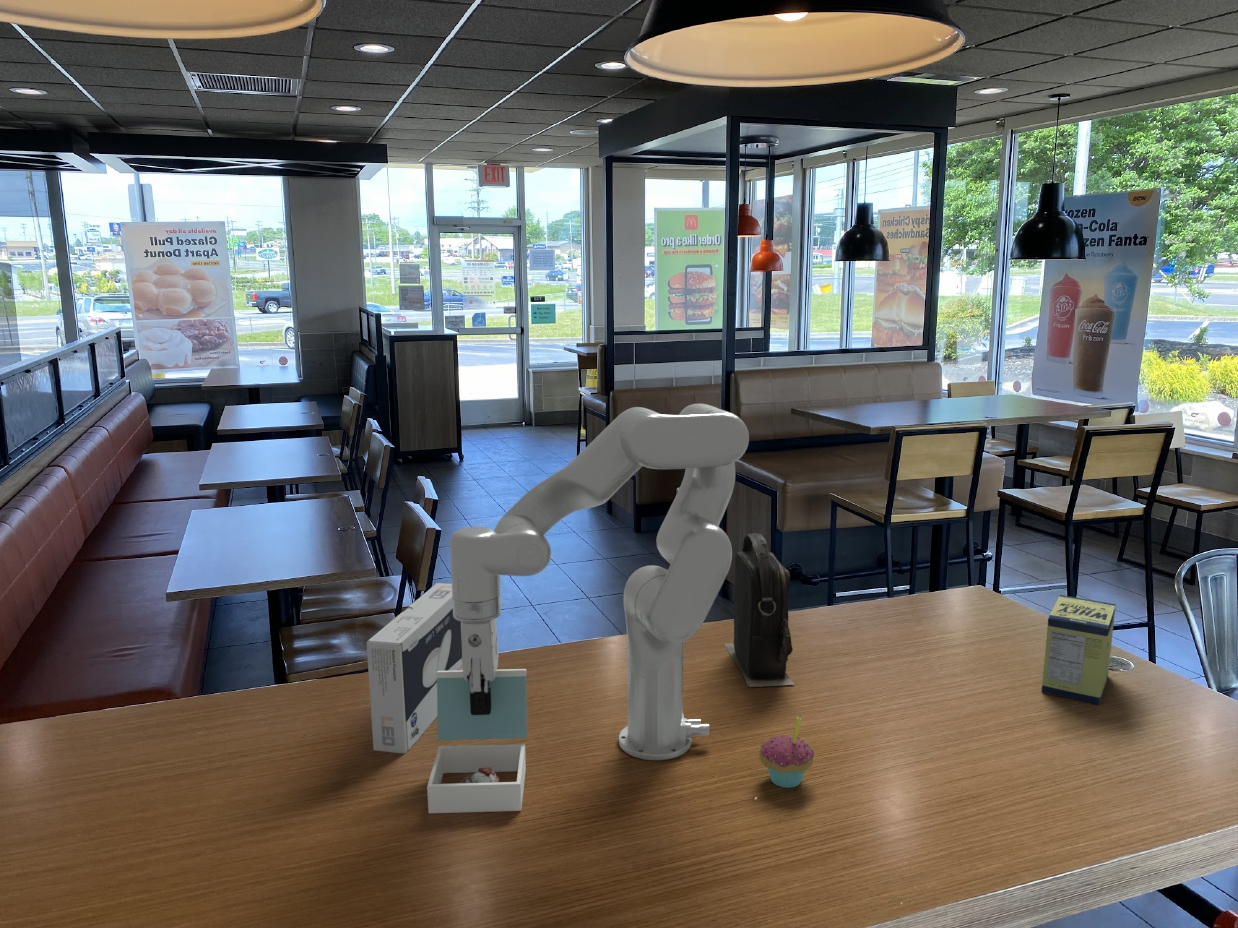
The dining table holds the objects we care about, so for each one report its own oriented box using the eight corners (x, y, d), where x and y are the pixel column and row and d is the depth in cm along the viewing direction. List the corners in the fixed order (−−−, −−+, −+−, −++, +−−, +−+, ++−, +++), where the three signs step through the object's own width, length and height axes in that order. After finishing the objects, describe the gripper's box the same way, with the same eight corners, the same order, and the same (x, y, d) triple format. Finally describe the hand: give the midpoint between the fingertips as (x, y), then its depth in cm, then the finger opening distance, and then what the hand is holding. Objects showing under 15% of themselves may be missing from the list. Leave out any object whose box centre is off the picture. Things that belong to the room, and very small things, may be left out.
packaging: (406, 753, 156) (400, 643, 152) (373, 750, 157) (365, 641, 153) (469, 678, 185) (465, 584, 181) (441, 675, 187) (436, 582, 182)
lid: (526, 738, 150) (527, 736, 151) (526, 670, 151) (526, 668, 152) (437, 740, 150) (438, 738, 151) (436, 672, 150) (437, 670, 151)
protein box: (1108, 675, 185) (1116, 602, 182) (1100, 706, 172) (1109, 628, 169) (1052, 664, 191) (1059, 593, 187) (1040, 692, 178) (1047, 617, 174)
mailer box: (525, 768, 151) (525, 743, 150) (521, 810, 139) (520, 783, 138) (440, 771, 151) (439, 746, 150) (428, 813, 139) (427, 786, 138)
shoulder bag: (723, 643, 202) (726, 520, 196) (764, 641, 203) (767, 519, 197) (749, 688, 180) (752, 552, 174) (794, 685, 181) (799, 550, 175)
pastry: (515, 797, 143) (514, 768, 142) (476, 817, 138) (475, 787, 137) (483, 778, 149) (482, 750, 148) (445, 797, 144) (443, 768, 142)
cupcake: (815, 771, 150) (818, 703, 148) (808, 799, 142) (811, 728, 140) (763, 762, 153) (765, 696, 150) (753, 789, 145) (755, 719, 142)
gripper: (497, 622, 138) (501, 734, 141) (503, 588, 152) (507, 691, 156) (446, 623, 137) (452, 736, 141) (458, 590, 152) (462, 692, 155)
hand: (481, 712), depth 148 cm, fingers closed
